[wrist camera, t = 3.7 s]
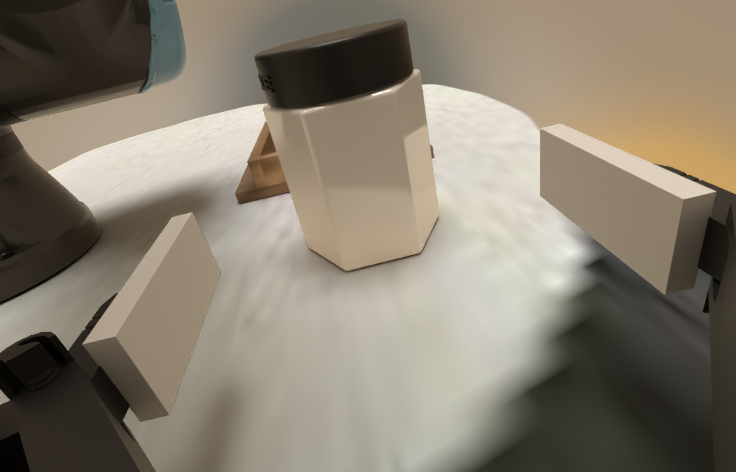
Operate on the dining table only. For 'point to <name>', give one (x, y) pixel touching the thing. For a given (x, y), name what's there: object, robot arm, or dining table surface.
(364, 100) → the jar
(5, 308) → the dining table surface
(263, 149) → the wooden tray
